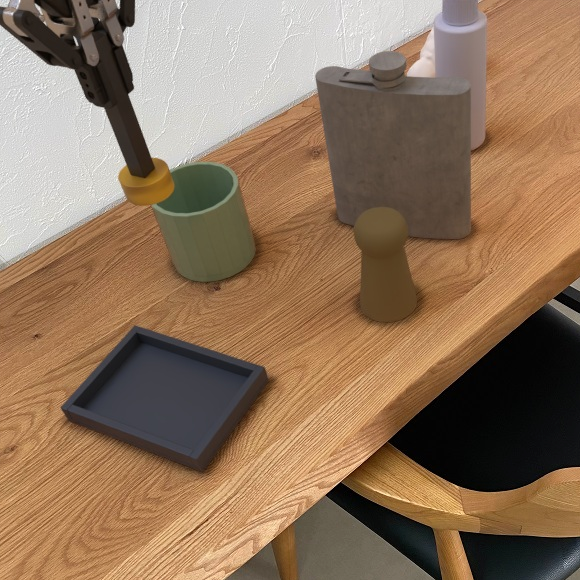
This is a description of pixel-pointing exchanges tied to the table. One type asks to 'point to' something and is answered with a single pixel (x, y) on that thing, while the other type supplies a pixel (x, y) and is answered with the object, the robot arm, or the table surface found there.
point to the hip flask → (399, 145)
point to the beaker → (206, 222)
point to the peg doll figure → (384, 265)
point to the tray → (167, 396)
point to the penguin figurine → (425, 60)
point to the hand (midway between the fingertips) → (113, 97)
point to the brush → (132, 141)
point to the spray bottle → (464, 55)
